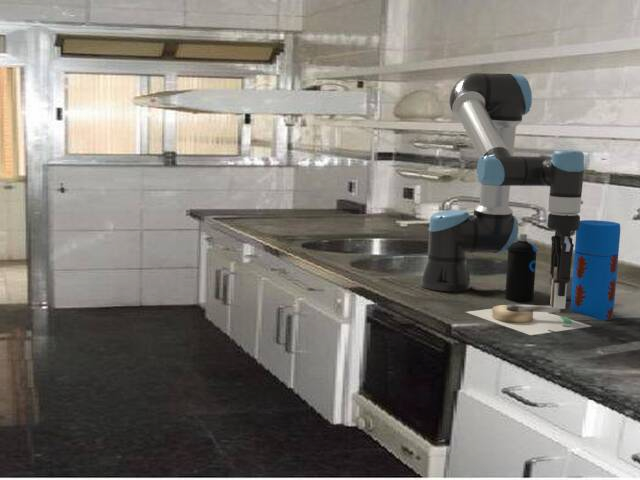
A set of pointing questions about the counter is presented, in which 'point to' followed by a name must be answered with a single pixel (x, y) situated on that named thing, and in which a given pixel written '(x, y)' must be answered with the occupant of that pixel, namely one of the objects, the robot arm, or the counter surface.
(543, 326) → the scale board
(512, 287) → the aerosol can
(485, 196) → the robot arm
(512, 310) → the crank
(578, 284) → the thermos
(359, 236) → the counter surface
